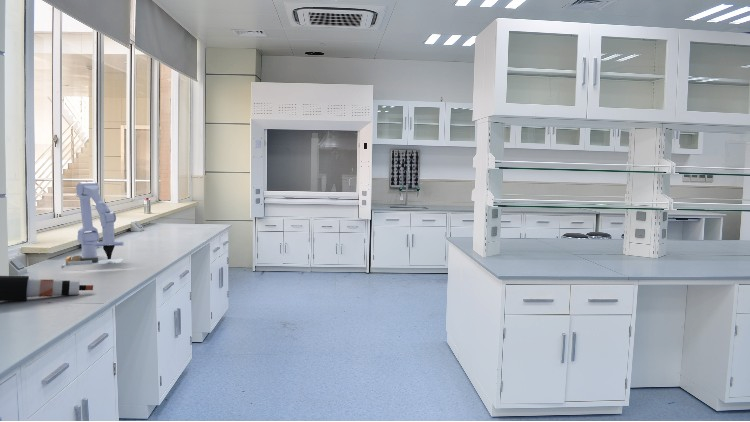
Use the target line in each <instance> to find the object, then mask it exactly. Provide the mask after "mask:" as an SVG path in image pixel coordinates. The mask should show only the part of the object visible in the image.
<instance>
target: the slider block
mask: <svg viewBox="0 0 750 422" xmlns="http://www.w3.org/2000/svg"><path fill="white" fill-rule="evenodd" d="M81 258H82V255H79V254H78V255H73V256H71V259H72V262H73V261H81Z"/></svg>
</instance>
